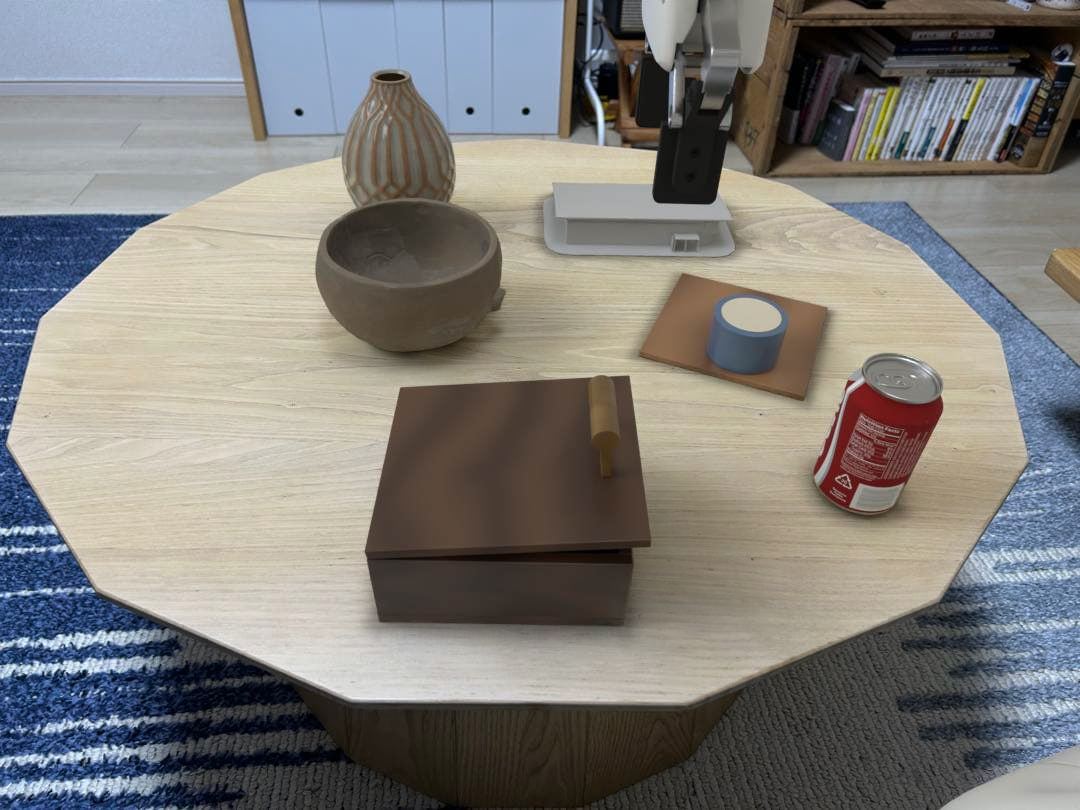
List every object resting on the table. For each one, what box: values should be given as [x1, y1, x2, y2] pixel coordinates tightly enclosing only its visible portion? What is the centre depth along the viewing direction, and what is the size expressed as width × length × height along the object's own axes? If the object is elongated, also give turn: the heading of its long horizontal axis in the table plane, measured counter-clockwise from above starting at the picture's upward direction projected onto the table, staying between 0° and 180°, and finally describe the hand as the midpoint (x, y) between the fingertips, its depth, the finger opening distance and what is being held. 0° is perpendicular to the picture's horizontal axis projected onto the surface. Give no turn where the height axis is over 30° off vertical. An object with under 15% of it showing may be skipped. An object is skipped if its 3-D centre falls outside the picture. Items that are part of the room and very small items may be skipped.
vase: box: [341, 68, 457, 209], centre depth 89 cm, size 13×13×18 cm
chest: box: [366, 548, 635, 627], centre depth 56 cm, size 17×16×7 cm
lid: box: [364, 374, 652, 560], centre depth 52 cm, size 18×16×5 cm
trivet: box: [638, 272, 828, 401], centre depth 79 cm, size 16×16×1 cm
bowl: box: [314, 198, 507, 353], centre depth 75 cm, size 17×18×10 cm
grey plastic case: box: [542, 181, 736, 258], centre depth 94 cm, size 15×23×4 cm, turn 91°
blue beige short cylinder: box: [706, 295, 789, 375], centre depth 74 cm, size 7×7×4 cm
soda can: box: [812, 352, 944, 516], centre depth 59 cm, size 7×7×12 cm
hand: (671, 160), depth 43 cm, fingers open, 9 cm apart
